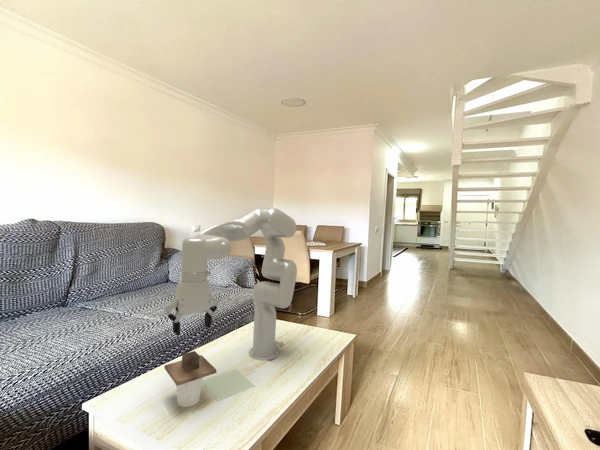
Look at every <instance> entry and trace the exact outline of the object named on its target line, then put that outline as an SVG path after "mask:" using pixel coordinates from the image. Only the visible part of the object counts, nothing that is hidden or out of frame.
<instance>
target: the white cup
mask: <svg viewBox="0 0 600 450" xmlns="http://www.w3.org/2000/svg"><path fill="white" fill-rule="evenodd" d="M202 380H203V378H200V379H197V380H194V381H191V382H187V383H184V384H181V385H178V386H177V385H176V403H177V405H178V406H179V407H183V408H184V407H186V408H188V407H193V406H195V405H197V404H198V402H200V400H201V392H202V385H203V383H202Z"/></svg>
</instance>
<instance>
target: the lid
mask: <svg viewBox="0 0 600 450" xmlns="http://www.w3.org/2000/svg"><path fill="white" fill-rule="evenodd" d="M164 370H165V371H166V373H167V374H168V376H169V377H170V379H171V380H172V381H173V382H174V384H175V385H176V387H177V386H178V385H181V384H184V383H187V382H191V381H194V380H197V379H200V378H202V379H203V378H205V377H208V376H212V375H214V374H217V369H216V367H214V366H213V365H212V364H211V362H210V361H208V359H206V358H205V357H204V356H203V355H202V354H198V353H197V351H196V350H194V351H193V350H192V351H189V352H185V353H182V354H181V360H177V361H176V362H171V363H168V364H165V365H164Z"/></svg>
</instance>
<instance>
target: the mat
mask: <svg viewBox="0 0 600 450" xmlns="http://www.w3.org/2000/svg"><path fill="white" fill-rule="evenodd" d="M202 385H203V386H204V387H205V388H206V390H207V391H208V392H210V394H211V395H212V396H213V397H214V399H215V400H216V402H219V401H222V400H224V399H227V398H229V397H232V396H235V395H237V394H239V393H242V392H244V391H247V390H249V389H252V388H254V387H255V388H256V385H255V384H254V383H253V382H252V381H251V380H249V379H248V378H247V377H246V376H245V375H243V374H242V373H241V372H240V371H239V370H238V369H236V368H235V369H231V370H229V371H225V372H223V373H220V374H217V375H214V376H212V377H207V378H206V379H205V378H204V379H202Z"/></svg>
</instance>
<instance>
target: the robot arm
mask: <svg viewBox="0 0 600 450" xmlns="http://www.w3.org/2000/svg"><path fill="white" fill-rule="evenodd" d="M259 231H260V232H261V234H262V235H263V237H264V241H265V244H266V246H265V252H264V257H263V260H262V261H263V262H262V266H261V275H262V277H263V278H266V279H269V280H274V281H279V283H276V282H271V281H259V282H257V283H256V284H255V285H254V287H253V292H252V298H253V307H254V308H253V309H254V311H253V312H254V313H253V315H254V316H253V338H252V348H250V349H249V350H248V355H249V357H250V358H252V359H253V360H257V361H272V360H274V359H276V358H277V357H278V355H279V351H278V348H279V347H283V346H284V341H279V342H278V340H276V333H277V332H276V329H277V311H276V308H279V309H286V308H288V307H289V306H290V305H291V302H292V301H293V297H294V293H295V292H294V291H295V285H296V280H297V274H298V267H297V264H296V262H295V261H294V260H291V259H287V258H285V251H286V246H285V243H284V241H283V238H289V239H290V238H292V237H294V235H296V232H297V223H296V221H295V220H294V218H293V217H291V216H290V215H288V214H287V213H285V212H284V211H282V210H280V208H279V209H278V208H276V207H266V206H265V207H263V206H260V207H259V206H258V207H255V208H252V209H250V210H248V211H246V212H245V213H243V214H242V215H241V216H238V217H237V218H235V219H233V220H229V221H226V222H223V223H220V224H216V225H214V226H210V227H208V228H207V229H205V230H202V231H201V232H199V233H198V234H196V235H194V236H192V237H185V238H184V239H183V240H182V243H181V247H182V248H181V280H179V281H178V283H177V284H176V293H175V299H174V302H172V303H170V304H169V305H168V306H166V307H164V308H163V312H164V313H165V315H166V317H167V318H168V319H169V320H171V321H172V332H173V333H174V334H175V335H176V336H180V335H181V322H180V320H181V319H182V318H183V316H188V315H193V314H199V313H204V312H205V314H204V326H205V327H206V328H207V329H211V325H212V319H213V315H214V313H215V311H216V310H217V309H218V307H219V304H220V302H221V301H220V299H218V298H215V297H214V296H211V288H210V287H211V286H210V281H209V279H208V277H209V276H211V275H212V272H211V271H209V270H208V260H222V259H224V258H226V257H228V256H229V255H230V253H231V251H232V244H231V243H232V242H233V243H234V242H240V241H244V240H248V239H249V238H250V237H251V236H253V235H254V234H256V233H257V232H259ZM211 304H212V305H211ZM172 310H174V311H175V313H174V314H172Z"/></svg>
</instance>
